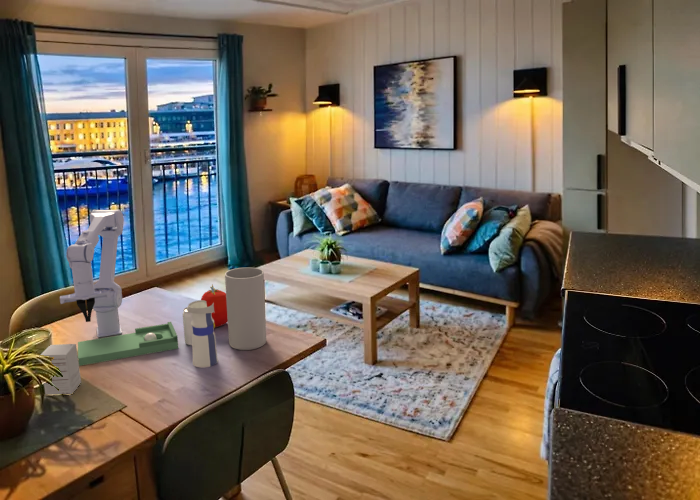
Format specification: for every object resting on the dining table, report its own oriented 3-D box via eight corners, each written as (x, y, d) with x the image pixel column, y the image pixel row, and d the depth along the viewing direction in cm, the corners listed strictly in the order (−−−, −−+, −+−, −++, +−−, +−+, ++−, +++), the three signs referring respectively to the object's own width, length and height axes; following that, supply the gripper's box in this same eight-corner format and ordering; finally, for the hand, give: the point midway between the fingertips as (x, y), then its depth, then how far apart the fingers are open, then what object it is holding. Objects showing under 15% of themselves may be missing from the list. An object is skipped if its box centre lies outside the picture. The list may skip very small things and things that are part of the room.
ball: (143, 335, 192) (151, 328, 191) (151, 343, 193) (160, 336, 193) (140, 341, 188) (149, 333, 188) (148, 349, 189) (157, 342, 189)
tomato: (219, 317, 215) (217, 282, 211) (240, 324, 208) (238, 287, 205) (193, 328, 205) (190, 291, 201) (214, 335, 198) (211, 297, 195)
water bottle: (204, 354, 183) (199, 280, 177) (224, 359, 179) (219, 284, 173) (185, 363, 176) (179, 287, 170) (205, 369, 172) (200, 292, 166)
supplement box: (55, 384, 164) (49, 344, 160) (82, 383, 164) (76, 343, 161) (44, 397, 156) (38, 355, 153) (72, 395, 157) (66, 354, 154)
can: (200, 346, 189) (197, 312, 186) (181, 345, 190) (178, 312, 187) (207, 338, 195) (204, 306, 192) (189, 337, 196) (186, 305, 193)
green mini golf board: (78, 348, 187) (77, 336, 186) (172, 333, 200) (171, 321, 199) (79, 365, 175) (77, 352, 174) (178, 348, 188) (177, 335, 186)
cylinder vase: (221, 343, 191) (217, 273, 185) (251, 333, 200) (248, 265, 194) (244, 354, 183) (240, 280, 177) (274, 342, 192) (271, 272, 185)
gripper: (57, 287, 174) (63, 328, 177) (108, 281, 180) (113, 321, 183) (58, 281, 180) (63, 321, 183) (107, 275, 186) (111, 314, 189)
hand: (88, 320), depth 184 cm, fingers closed
